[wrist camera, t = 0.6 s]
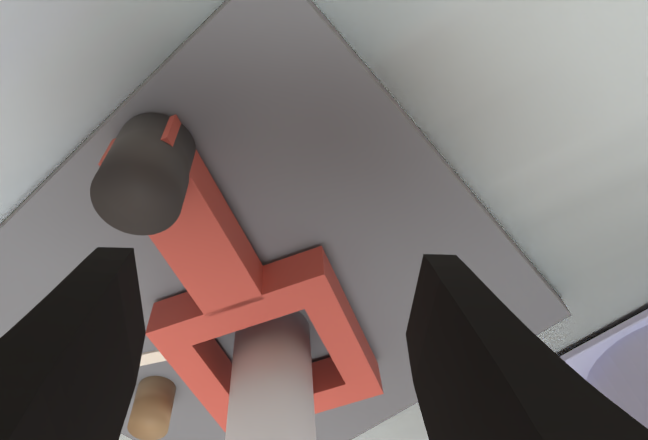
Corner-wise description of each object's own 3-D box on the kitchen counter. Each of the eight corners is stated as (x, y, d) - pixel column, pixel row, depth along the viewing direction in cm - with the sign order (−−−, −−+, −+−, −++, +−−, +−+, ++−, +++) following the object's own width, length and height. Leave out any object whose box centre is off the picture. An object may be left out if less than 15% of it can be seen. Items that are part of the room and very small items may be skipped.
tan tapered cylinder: (183, 388, 24) (176, 428, 22) (159, 404, 24) (150, 445, 23) (154, 370, 23) (145, 410, 22) (130, 388, 24) (118, 428, 22)
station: (561, 299, 24) (651, 444, 18) (247, 481, 30) (239, 632, 24) (272, -47, 15) (268, 17, 10) (-80, 303, 22) (-211, 470, 16)
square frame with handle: (377, 362, 24) (389, 423, 21) (232, 406, 25) (227, 469, 22) (239, 74, 16) (231, 115, 14) (40, 154, 17) (-1, 206, 15)
